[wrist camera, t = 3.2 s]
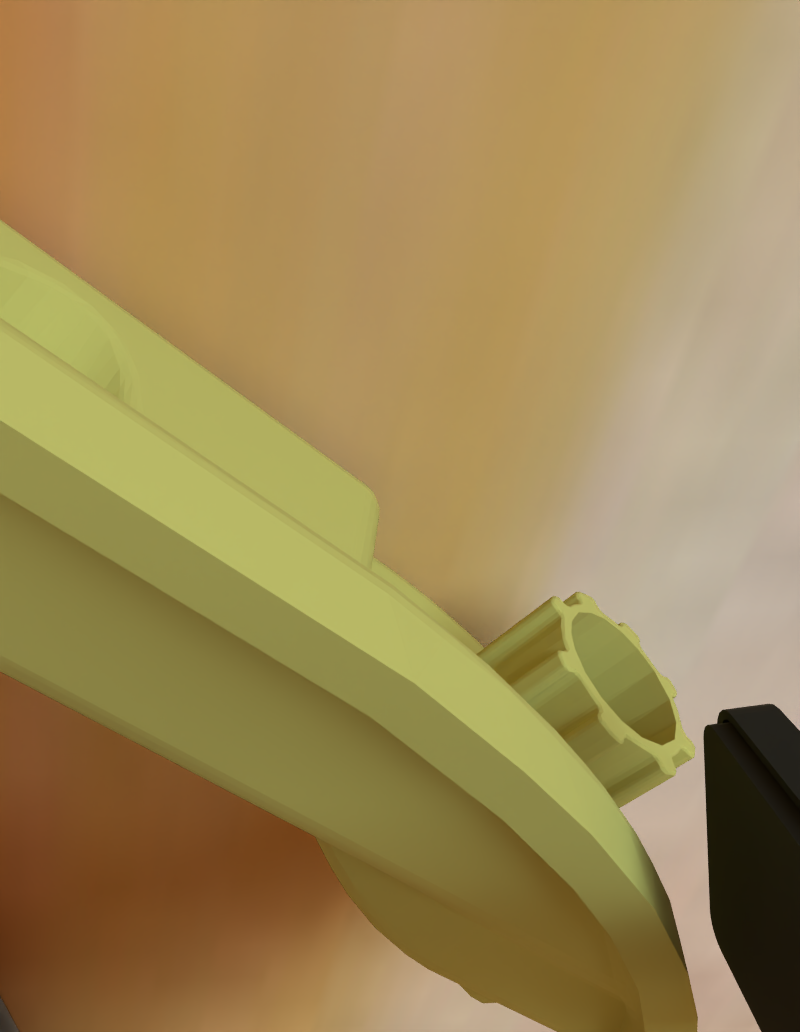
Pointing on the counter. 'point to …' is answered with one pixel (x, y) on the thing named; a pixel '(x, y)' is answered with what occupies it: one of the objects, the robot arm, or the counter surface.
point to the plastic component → (328, 668)
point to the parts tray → (6, 1020)
